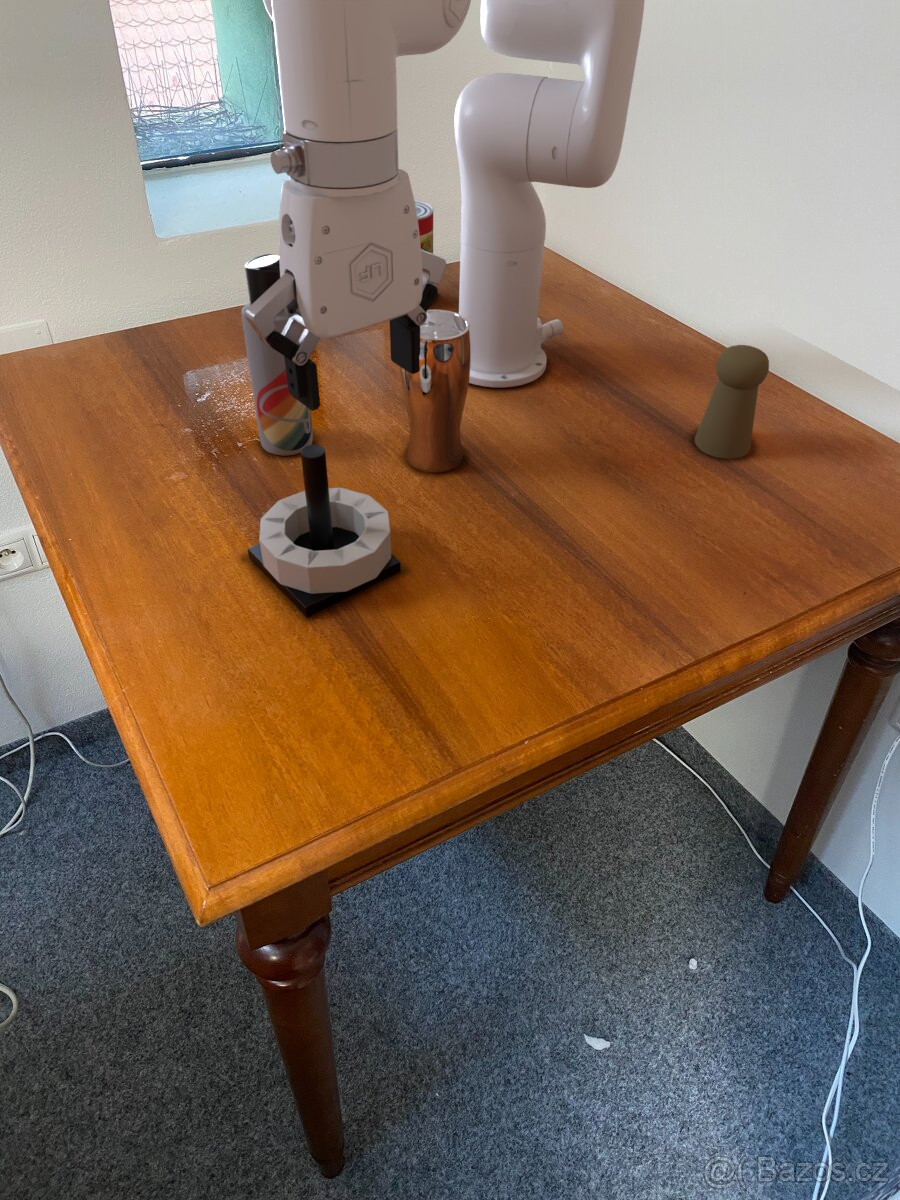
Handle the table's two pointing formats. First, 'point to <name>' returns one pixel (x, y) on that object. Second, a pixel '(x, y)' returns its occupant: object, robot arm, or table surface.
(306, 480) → the post
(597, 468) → the table surface
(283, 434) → the lotion bottle
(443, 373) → the beer glass
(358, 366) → the table surface
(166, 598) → the table surface
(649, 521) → the table surface
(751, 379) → the olive pawn figure
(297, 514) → the tape roll
